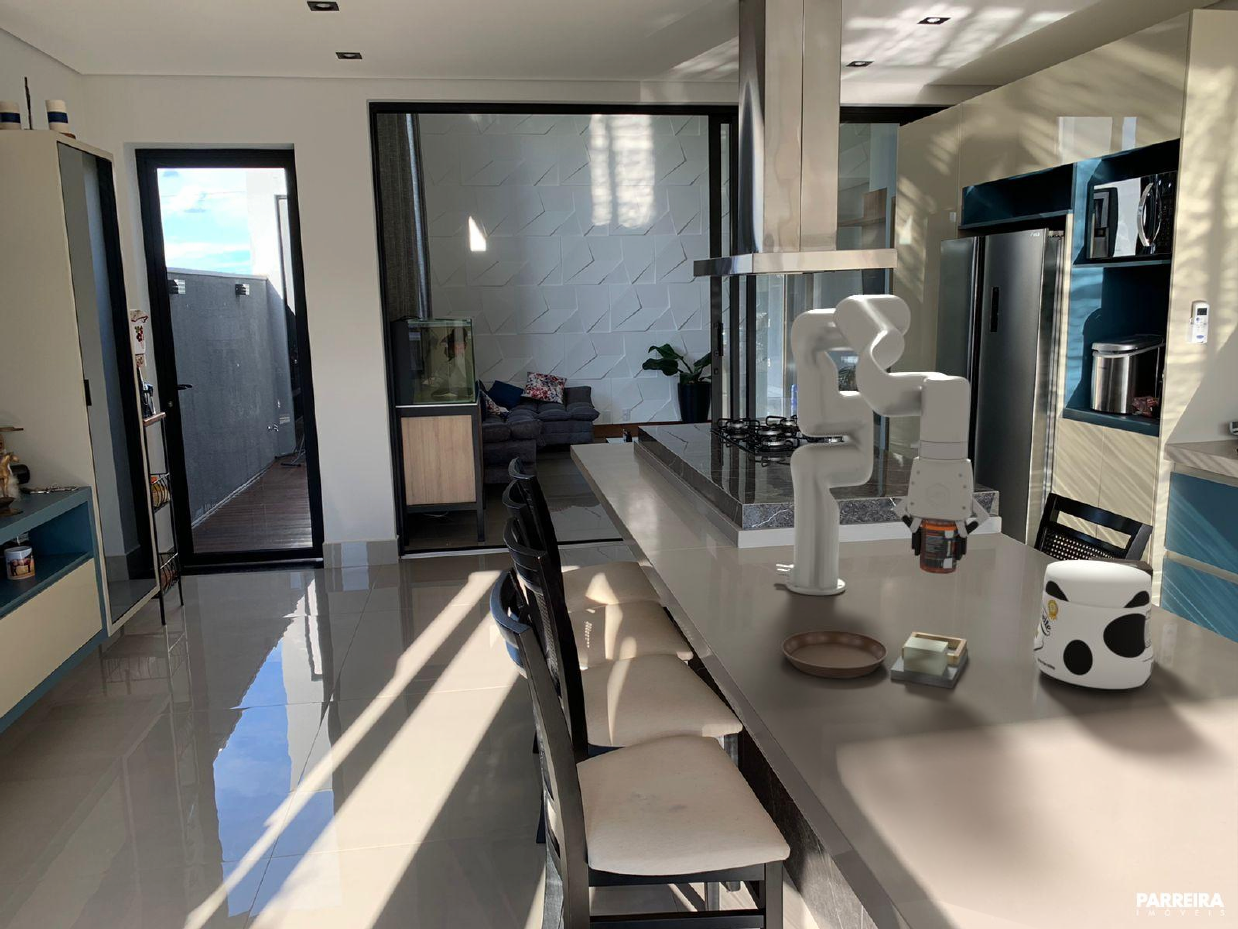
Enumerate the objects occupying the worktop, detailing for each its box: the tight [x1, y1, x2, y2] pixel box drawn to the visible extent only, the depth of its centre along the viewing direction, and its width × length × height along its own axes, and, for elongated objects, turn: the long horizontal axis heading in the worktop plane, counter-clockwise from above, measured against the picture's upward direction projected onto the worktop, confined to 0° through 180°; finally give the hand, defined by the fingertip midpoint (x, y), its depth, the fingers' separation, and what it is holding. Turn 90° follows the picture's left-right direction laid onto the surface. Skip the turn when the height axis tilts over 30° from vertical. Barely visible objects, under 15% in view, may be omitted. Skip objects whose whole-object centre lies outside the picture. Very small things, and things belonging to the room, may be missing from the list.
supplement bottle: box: [919, 519, 959, 575], centre depth 159 cm, size 6×6×11 cm
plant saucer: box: [781, 629, 888, 679], centre depth 162 cm, size 18×18×3 cm
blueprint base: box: [890, 631, 969, 689], centre depth 159 cm, size 10×16×6 cm, turn 151°
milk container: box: [1033, 559, 1155, 693], centre depth 151 cm, size 17×17×18 cm
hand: (938, 555), depth 159 cm, fingers closed on supplement bottle, 6 cm apart
